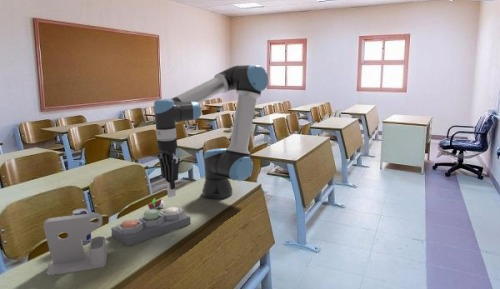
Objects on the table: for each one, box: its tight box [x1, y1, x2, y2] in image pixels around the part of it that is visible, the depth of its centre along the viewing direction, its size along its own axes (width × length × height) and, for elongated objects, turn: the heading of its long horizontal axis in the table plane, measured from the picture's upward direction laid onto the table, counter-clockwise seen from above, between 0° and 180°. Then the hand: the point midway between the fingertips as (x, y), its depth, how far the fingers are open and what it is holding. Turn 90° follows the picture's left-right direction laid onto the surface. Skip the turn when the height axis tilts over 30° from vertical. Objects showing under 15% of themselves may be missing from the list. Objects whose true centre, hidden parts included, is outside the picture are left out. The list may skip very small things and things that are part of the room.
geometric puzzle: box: [147, 197, 167, 213], centre depth 157 cm, size 7×7×8 cm
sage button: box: [143, 209, 159, 221], centre depth 140 cm, size 6×6×2 cm
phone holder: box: [43, 212, 108, 276], centre depth 115 cm, size 17×10×18 cm, turn 108°
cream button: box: [164, 206, 179, 214], centre depth 146 cm, size 6×6×2 cm
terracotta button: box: [122, 219, 138, 228], centre depth 134 cm, size 6×6×2 cm
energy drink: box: [71, 207, 92, 245], centre depth 131 cm, size 5×5×12 cm
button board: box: [110, 206, 192, 247], centre depth 141 cm, size 27×13×5 cm, turn 134°
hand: (171, 196), depth 145 cm, fingers closed
